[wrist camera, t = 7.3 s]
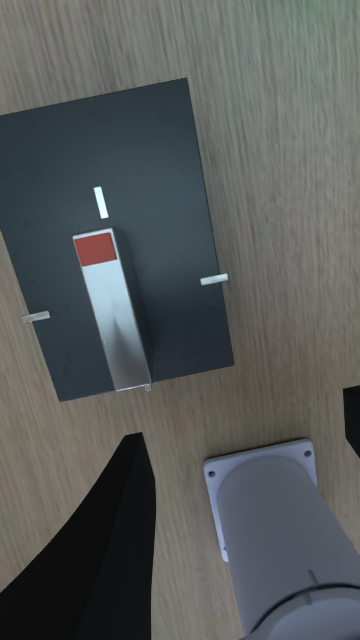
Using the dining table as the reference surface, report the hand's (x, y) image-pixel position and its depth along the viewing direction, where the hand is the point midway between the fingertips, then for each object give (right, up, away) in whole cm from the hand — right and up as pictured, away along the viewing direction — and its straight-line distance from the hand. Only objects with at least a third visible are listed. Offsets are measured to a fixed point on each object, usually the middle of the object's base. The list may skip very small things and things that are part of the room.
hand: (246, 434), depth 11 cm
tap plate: (-6, +8, +7) cm, 12 cm away
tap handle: (-5, +5, +5) cm, 9 cm away
